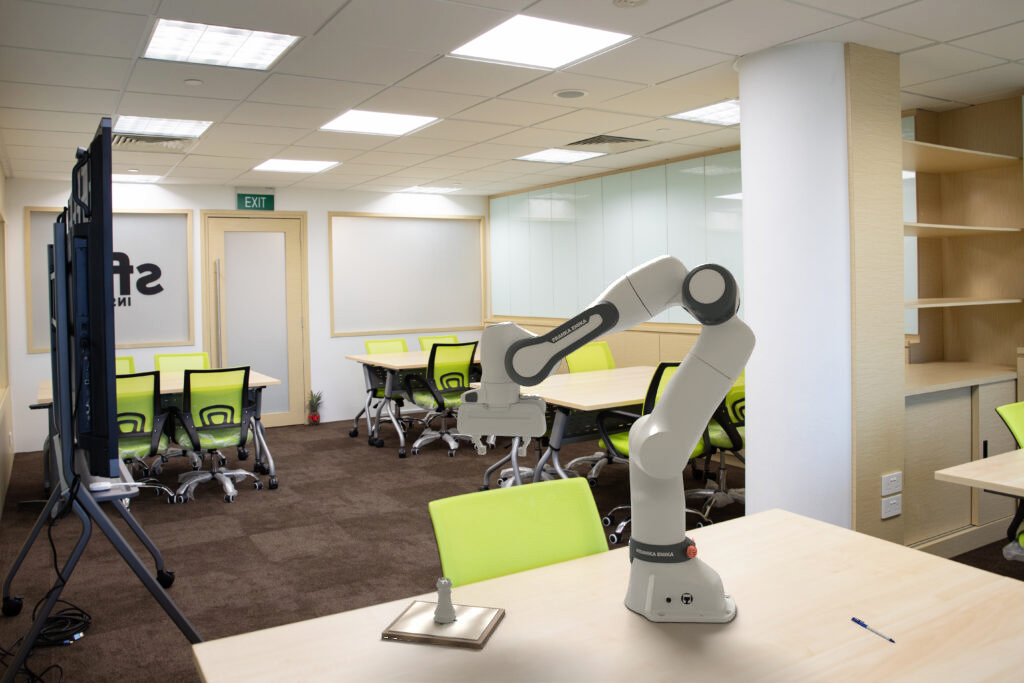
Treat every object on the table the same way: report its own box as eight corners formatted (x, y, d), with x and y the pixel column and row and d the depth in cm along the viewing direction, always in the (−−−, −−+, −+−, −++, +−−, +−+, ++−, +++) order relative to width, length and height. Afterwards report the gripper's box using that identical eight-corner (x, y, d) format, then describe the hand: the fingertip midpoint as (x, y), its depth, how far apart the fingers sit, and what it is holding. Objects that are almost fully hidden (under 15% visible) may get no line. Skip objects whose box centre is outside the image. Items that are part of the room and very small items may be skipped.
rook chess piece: (434, 615, 152) (433, 576, 152) (456, 614, 153) (455, 575, 152) (433, 624, 148) (432, 584, 147) (456, 623, 148) (455, 583, 148)
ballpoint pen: (849, 621, 149) (849, 616, 149) (853, 620, 149) (853, 615, 149) (892, 644, 139) (892, 638, 139) (896, 643, 139) (896, 638, 139)
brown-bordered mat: (505, 613, 155) (505, 607, 155) (481, 648, 140) (480, 642, 140) (414, 604, 161) (414, 599, 161) (381, 637, 145) (381, 631, 145)
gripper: (549, 392, 171) (550, 453, 172) (463, 391, 176) (464, 450, 177) (542, 396, 165) (543, 459, 166) (453, 395, 170) (455, 456, 171)
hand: (502, 455), depth 171 cm, fingers open, 8 cm apart
